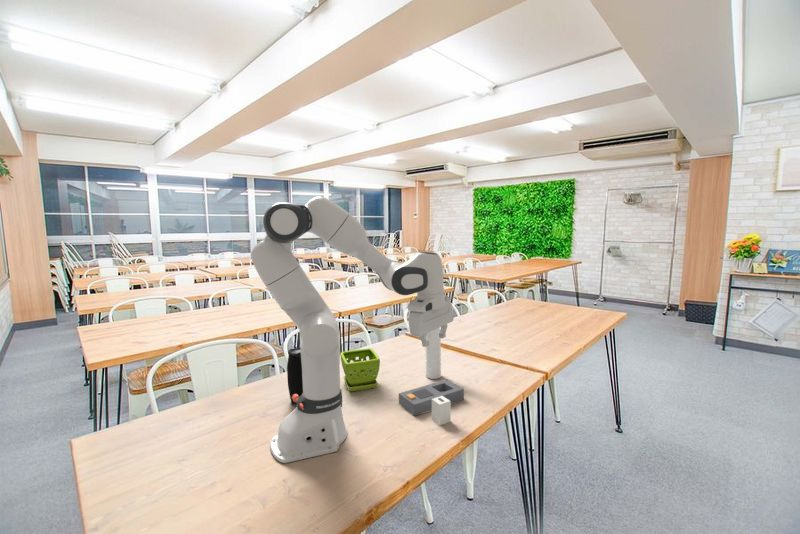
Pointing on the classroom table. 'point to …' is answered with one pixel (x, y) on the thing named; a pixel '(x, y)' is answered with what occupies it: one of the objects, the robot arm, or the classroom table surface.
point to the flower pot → (360, 369)
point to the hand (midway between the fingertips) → (434, 341)
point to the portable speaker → (294, 373)
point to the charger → (441, 410)
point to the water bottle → (433, 355)
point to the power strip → (429, 396)
